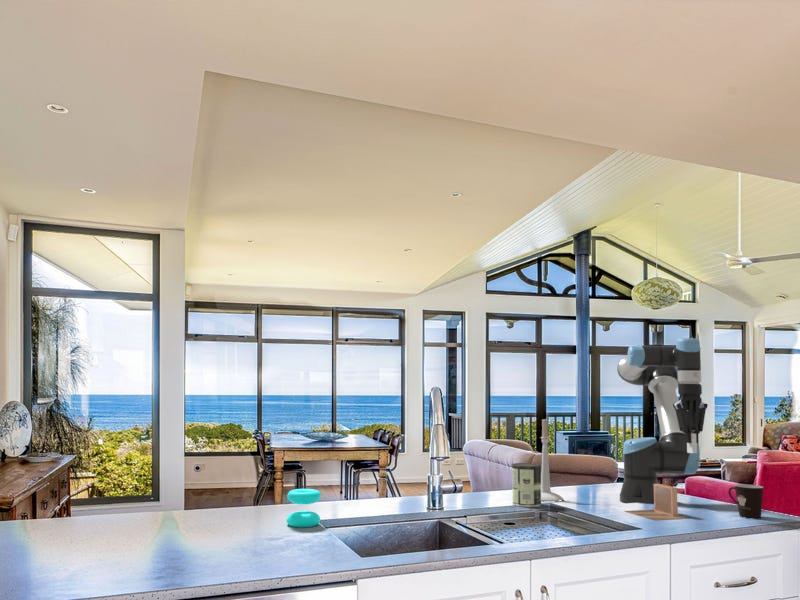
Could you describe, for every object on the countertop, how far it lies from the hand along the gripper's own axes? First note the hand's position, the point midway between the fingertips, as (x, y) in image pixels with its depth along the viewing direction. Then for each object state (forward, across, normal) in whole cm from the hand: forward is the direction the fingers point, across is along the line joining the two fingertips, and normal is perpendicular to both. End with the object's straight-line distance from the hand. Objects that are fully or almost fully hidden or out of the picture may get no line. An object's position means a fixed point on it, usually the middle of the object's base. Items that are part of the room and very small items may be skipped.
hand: (692, 452), depth 234 cm
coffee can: (+21, -47, +30) cm, 59 cm away
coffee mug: (+21, +16, -7) cm, 27 cm away
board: (+20, -16, -1) cm, 26 cm away
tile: (+20, -12, 0) cm, 23 cm away
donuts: (+21, -130, +16) cm, 133 cm away
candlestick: (+21, -34, +39) cm, 56 cm away
